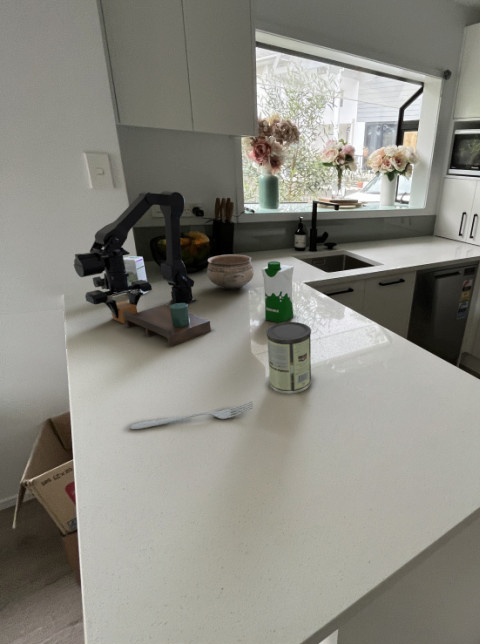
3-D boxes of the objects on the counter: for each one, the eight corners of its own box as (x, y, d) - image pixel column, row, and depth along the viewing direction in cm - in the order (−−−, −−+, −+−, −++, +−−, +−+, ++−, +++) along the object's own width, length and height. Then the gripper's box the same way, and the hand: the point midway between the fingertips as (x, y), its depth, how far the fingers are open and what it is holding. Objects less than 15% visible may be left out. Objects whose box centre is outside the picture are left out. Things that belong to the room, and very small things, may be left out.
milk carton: (261, 320, 128) (258, 262, 120) (276, 311, 136) (274, 256, 128) (283, 325, 125) (281, 266, 117) (297, 316, 132) (296, 260, 124)
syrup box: (149, 291, 153) (143, 256, 147) (141, 296, 147) (134, 259, 142) (136, 290, 153) (129, 255, 148) (127, 295, 148) (120, 258, 142)
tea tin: (183, 319, 118) (180, 301, 116) (193, 323, 115) (191, 305, 113) (169, 324, 114) (166, 306, 112) (179, 328, 112) (176, 310, 109)
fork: (132, 422, 77) (130, 415, 76) (252, 406, 83) (252, 400, 82) (128, 432, 74) (126, 425, 74) (253, 415, 80) (253, 408, 79)
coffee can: (281, 368, 99) (279, 319, 93) (317, 376, 96) (317, 325, 90) (261, 388, 90) (257, 335, 84) (300, 397, 87) (299, 342, 81)
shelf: (166, 313, 131) (164, 300, 130) (211, 330, 119) (209, 316, 117) (126, 326, 121) (123, 311, 119) (171, 346, 108) (168, 330, 107)
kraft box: (127, 314, 130) (124, 300, 128) (138, 319, 126) (136, 305, 124) (112, 318, 126) (109, 304, 124) (124, 324, 122) (120, 309, 120)
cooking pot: (202, 282, 165) (198, 255, 160) (243, 277, 174) (241, 251, 170) (218, 299, 146) (215, 269, 141) (264, 292, 155) (263, 263, 150)
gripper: (130, 260, 131) (138, 303, 137) (71, 272, 117) (83, 318, 123) (148, 266, 125) (156, 309, 131) (88, 278, 111) (100, 327, 117)
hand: (125, 315), depth 126 cm, fingers closed on kraft box, 5 cm apart
